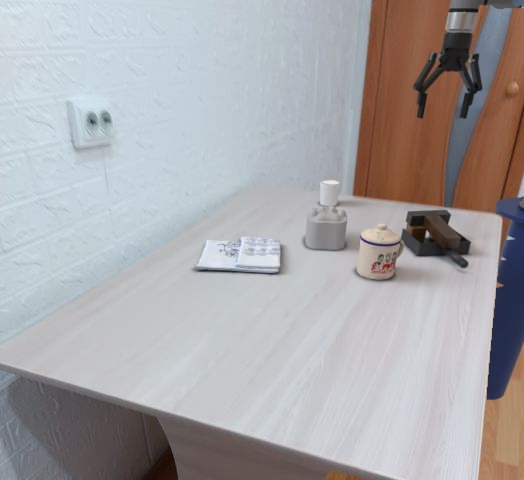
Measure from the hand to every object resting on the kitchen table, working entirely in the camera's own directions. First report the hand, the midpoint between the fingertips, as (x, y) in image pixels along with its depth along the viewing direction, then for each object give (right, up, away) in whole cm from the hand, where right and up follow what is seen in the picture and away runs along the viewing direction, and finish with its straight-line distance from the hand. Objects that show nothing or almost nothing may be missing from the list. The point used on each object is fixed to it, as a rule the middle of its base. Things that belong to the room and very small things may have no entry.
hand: (441, 118), depth 142 cm
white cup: (-31, -21, +17) cm, 41 cm away
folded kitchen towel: (-59, -46, -23) cm, 78 cm away
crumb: (-5, -36, -10) cm, 37 cm away
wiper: (-9, -32, -12) cm, 35 cm away
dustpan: (-7, -44, -19) cm, 49 cm away
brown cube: (-12, -36, -11) cm, 39 cm away
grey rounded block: (-36, -39, -12) cm, 55 cm away
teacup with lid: (-25, -50, -28) cm, 63 cm away
